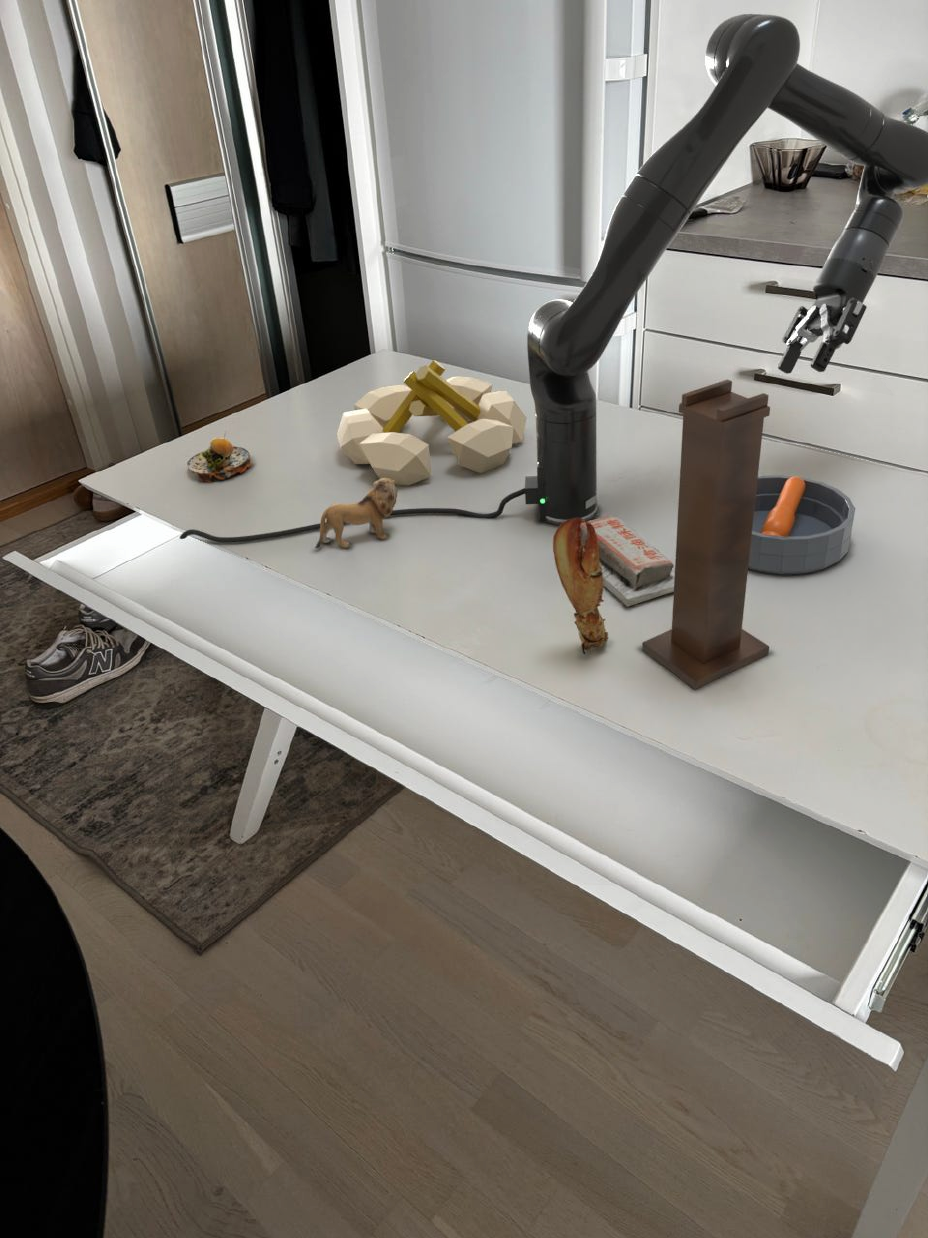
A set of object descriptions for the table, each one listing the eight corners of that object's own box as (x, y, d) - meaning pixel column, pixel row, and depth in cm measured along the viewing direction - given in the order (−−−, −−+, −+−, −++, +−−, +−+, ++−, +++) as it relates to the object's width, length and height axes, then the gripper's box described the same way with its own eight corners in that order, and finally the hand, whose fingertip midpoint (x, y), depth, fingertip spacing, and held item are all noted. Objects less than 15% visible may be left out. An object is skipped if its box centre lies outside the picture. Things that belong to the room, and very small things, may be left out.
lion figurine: (395, 519, 156) (388, 469, 151) (407, 532, 152) (401, 482, 147) (310, 544, 151) (300, 494, 146) (321, 559, 147) (311, 507, 142)
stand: (695, 689, 114) (714, 423, 95) (641, 649, 121) (650, 395, 102) (768, 654, 119) (801, 393, 99) (713, 617, 126) (733, 368, 107)
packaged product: (564, 523, 140) (622, 506, 143) (564, 551, 143) (622, 534, 146) (627, 579, 126) (691, 560, 129) (626, 609, 129) (689, 589, 132)
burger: (217, 450, 185) (208, 414, 181) (264, 459, 180) (256, 422, 176) (175, 477, 177) (164, 439, 172) (224, 486, 172) (214, 448, 167)
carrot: (777, 570, 134) (777, 550, 132) (750, 565, 136) (750, 546, 134) (810, 491, 144) (810, 472, 141) (784, 488, 146) (785, 468, 143)
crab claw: (552, 648, 123) (547, 512, 112) (576, 630, 126) (573, 495, 115) (596, 668, 119) (595, 528, 108) (619, 648, 122) (621, 511, 111)
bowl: (719, 578, 134) (723, 541, 130) (702, 511, 150) (704, 477, 146) (864, 574, 131) (871, 537, 128) (830, 507, 148) (836, 472, 144)
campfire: (355, 501, 162) (339, 407, 153) (331, 428, 190) (317, 344, 180) (549, 465, 168) (546, 372, 158) (499, 399, 195) (493, 316, 186)
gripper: (803, 263, 145) (754, 360, 147) (862, 248, 132) (808, 356, 133) (839, 287, 147) (791, 383, 149) (901, 275, 134) (848, 381, 135)
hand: (799, 370), depth 141 cm, fingers open, 8 cm apart
